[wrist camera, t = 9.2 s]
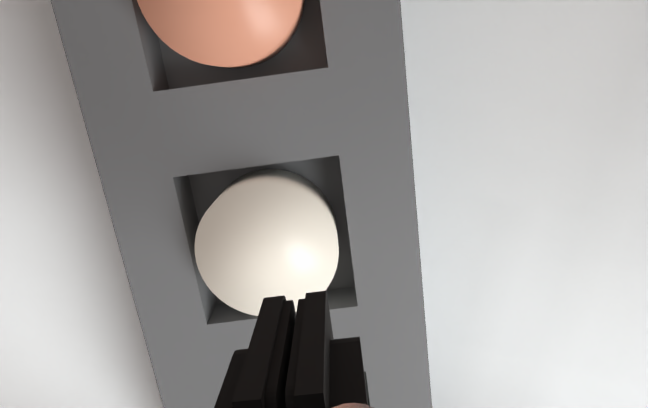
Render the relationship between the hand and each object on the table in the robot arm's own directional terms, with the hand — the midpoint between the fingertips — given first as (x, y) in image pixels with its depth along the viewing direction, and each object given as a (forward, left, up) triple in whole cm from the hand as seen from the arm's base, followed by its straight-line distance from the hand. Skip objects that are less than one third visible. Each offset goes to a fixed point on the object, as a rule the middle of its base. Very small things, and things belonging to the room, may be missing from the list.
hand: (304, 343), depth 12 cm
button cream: (+2, 0, -10) cm, 10 cm away
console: (+2, 0, -13) cm, 13 cm away
